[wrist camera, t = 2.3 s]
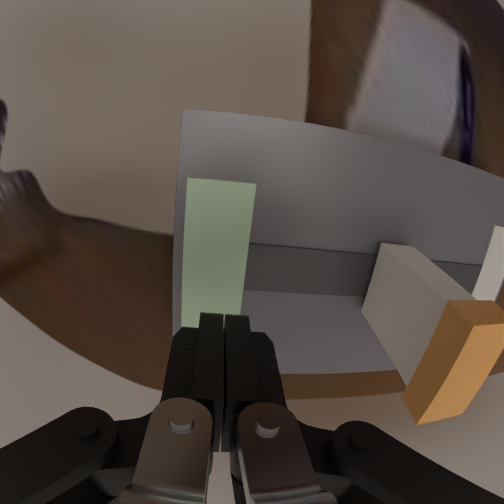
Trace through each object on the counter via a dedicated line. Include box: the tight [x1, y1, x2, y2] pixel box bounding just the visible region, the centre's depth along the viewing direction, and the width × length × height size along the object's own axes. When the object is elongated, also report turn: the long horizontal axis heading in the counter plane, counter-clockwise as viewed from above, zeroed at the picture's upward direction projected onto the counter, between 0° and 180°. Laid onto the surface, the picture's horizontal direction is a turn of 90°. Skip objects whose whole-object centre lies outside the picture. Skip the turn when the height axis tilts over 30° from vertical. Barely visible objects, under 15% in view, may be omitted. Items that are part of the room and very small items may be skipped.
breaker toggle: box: [361, 243, 504, 425], centre depth 12 cm, size 3×5×8 cm, turn 173°
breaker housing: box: [172, 109, 504, 374], centre depth 18 cm, size 22×14×5 cm, turn 83°
